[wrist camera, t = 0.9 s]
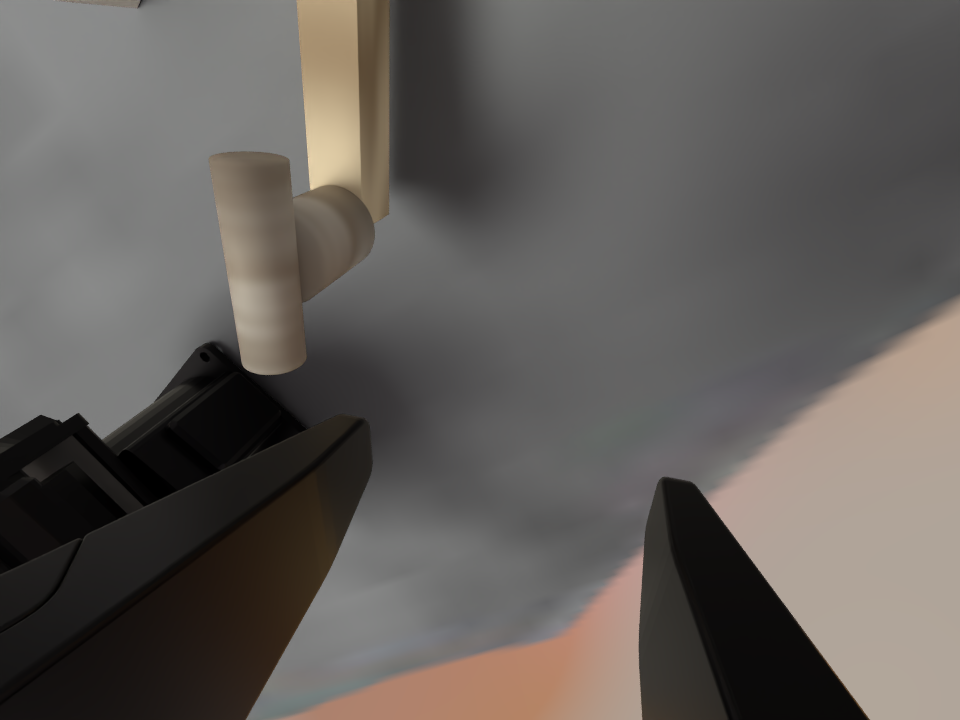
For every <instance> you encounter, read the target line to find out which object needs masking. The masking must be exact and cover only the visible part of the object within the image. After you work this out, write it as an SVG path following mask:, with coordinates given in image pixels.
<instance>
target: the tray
mask: <svg viewBox="0 0 960 720" xmlns="http://www.w3.org/2000/svg"><path fill="white" fill-rule="evenodd" d="M54 1H63V2H74V3H85V4H95V5H106V6H117V7H128V8H137V7H138V5H139V3H140V0H54Z"/></svg>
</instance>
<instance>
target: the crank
mask: <svg viewBox="0 0 960 720" xmlns="http://www.w3.org/2000/svg"><path fill="white" fill-rule="evenodd" d="M297 10H298V24H299V38H300V52H301V66H302V80H303V94H304V108H305V122H306V136H307V150H308V164H309V178H310V191H308V192H306V193H303V194H301V195H299V196H296V197H294V198H293V197H292V186H291V174H290V163H289V159H288V158H286V157H284V156H281V155H277V154H272V153H264V152H227V153H220V154H216V155H212V156H210V157H209V165H210V171H211V177H212V183H213V189H214V195H215V201H216V208H217V214H218V220H219V226H220V232H221V238H222V244H223V251H224V257H225V263H226V269H227V275H228V281H229V287H230V294H231V300H232V306H233V312H234V318H235V324H236V330H237V337H238V343H239V349H240V355H241V361H242V365H243V367H244V368H245V369H247V370H248V371H250V372H253V373H256V374H261V375H277V374H283V373H287V372H290V371H293V370H295V369H297V368H299V367H300V366H301V365H303V363H304V362H305V361H306V358H307V354H306V343H305V332H304V321H303V309H302V303H303V302H306V301H308V300H310V299H311V298H312V297H314V296H315V295H316V294H318V293H319V292H320V291H322V290H323V289H325V288H326V287H327V286H329V285H330V284H331V283H333V282H334V281H335V280H337V279H338V278H339V277H341V276H342V275H343V274H345V273H346V272H347V271H349V270H350V269H351V268H353V267H354V266H355V265H357V264H358V263H360V262H361V261H362V260H364V259H365V258H366V257H367V256H368V254H369V253H370V251H371V249H372V247H373V244H374V239H375V229H374V223H376V222H377V221H379V220H381V219H382V218H384V217H385V216H387V215H388V214H389V27H390V0H297Z"/></svg>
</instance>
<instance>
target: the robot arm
mask: <svg viewBox="0 0 960 720" xmlns="http://www.w3.org/2000/svg"><path fill="white" fill-rule="evenodd" d="M207 354H208V355H209V356H208V355H207ZM88 424H89V423H88V422H87V421H86V420H85V419H84V418H83V417H82V416H81V415H80V414H79V413H77V414H76V415H74V416H73V417H71V418H69V419H68V420H66V421H65V422H63V423H62V422H61V421H60V420H54V419H51V418H48V417H46V416H43V415H39V416H38V417H36V418H34V419H33V420H31V421H29V422H28V423H26V424H24V425H23V426H21V427H19V428H18V429H16V430H15V431H13V432H11V433H9V434H8V435H6V436H4V437H3V438H1V439H0V720H246V718H247V717H248V715H249V713H250V711H251V709H252V708H253V706H254V704H255V702H256V701H257V699H258V697H259V695H260V693H261V692H262V690H263V688H264V686H265V685H266V683H267V681H268V679H269V677H270V676H271V674H272V672H273V670H274V669H275V667H276V665H277V663H278V661H279V660H280V658H281V656H282V654H283V653H284V651H285V649H286V647H287V645H288V644H289V642H290V640H291V638H292V637H293V635H294V633H295V631H296V629H297V628H298V626H299V624H300V622H301V621H302V619H303V617H304V615H305V613H306V612H307V610H308V608H309V606H310V605H311V603H312V601H313V599H314V597H315V596H316V594H317V592H318V590H319V589H320V587H321V585H322V583H323V581H324V579H325V578H326V576H327V574H328V572H329V570H330V568H331V566H332V564H333V562H334V559H335V557H336V555H337V553H338V550H339V548H340V546H341V543H342V541H343V539H344V536H345V534H346V532H347V529H348V527H349V525H350V522H351V520H352V518H353V515H354V513H355V511H356V508H357V506H358V504H359V501H360V499H361V497H362V494H363V492H364V490H365V487H366V485H367V483H368V480H369V478H370V475H371V471H372V464H373V460H372V447H371V435H370V426H369V423H368V421H367V420H366V419H365V418H362V417H357V416H352V415H347V414H339V415H337V416H334V417H332V418H330V419H328V420H326V421H324V422H322V423H320V424H318V425H316V426H313V427H311V428H309V429H307V430H306V429H305V428H304V427H303V426H302V425H301V424H300V423H299V422H297V421H296V420H295V419H294V418H293V417H292V416H291V415H290V414H289V413H288V412H286V411H285V410H284V409H283V408H282V407H281V406H280V405H279V404H278V403H277V402H276V401H274V400H273V399H272V398H271V397H270V396H269V395H268V394H267V393H266V392H265V391H263V390H262V389H261V388H260V387H259V386H258V385H257V384H256V383H255V382H254V381H252V380H251V379H250V378H249V377H248V376H247V375H246V374H245V373H244V372H243V371H242V370H240V369H239V368H238V367H237V366H236V365H235V364H234V363H233V362H232V361H231V360H229V359H228V358H227V357H226V356H225V355H224V354H223V353H222V352H221V351H220V350H218V349H217V348H216V347H215V346H214V345H212V344H209V343H205V344H203V345H202V346H200V347H199V348H197V349H196V350H195V351H194V353H193V354H192V355H191V356H190V358H189V359H188V360H187V361H186V363H185V364H184V365H183V366H182V368H181V369H180V370H179V371H178V373H177V374H176V375H175V376H174V378H173V379H172V380H171V382H170V383H169V384H168V385H167V387H166V388H165V389H164V390H163V392H162V393H161V394H160V395H159V397H158V398H157V399H156V400H155V402H154V403H153V404H151V405H150V406H148V407H147V408H146V409H144V410H143V411H142V412H140V413H139V414H137V415H136V416H135V417H133V418H132V419H130V420H129V421H128V422H126V423H125V424H123V425H122V426H121V427H119V428H118V429H116V430H115V431H114V432H112V433H111V434H109V435H108V436H107V437H105V438H104V439H102V440H101V439H100V438H99V437H98V436H97V435H96V434H95V433H94V432H93V431H92V430H91V429H90V428H89V427H88V426H87V425H88ZM639 669H640V687H641V704H642V720H870V719H869V718H868V717H867V715H866V714H865V713H864V711H863V710H862V708H861V707H860V706H859V704H858V703H857V702H856V700H855V699H854V698H853V696H852V695H851V694H850V693H849V691H848V690H847V688H846V687H845V686H844V684H843V683H842V682H841V680H840V679H839V678H838V676H837V675H836V674H835V672H834V671H833V669H832V668H831V667H830V665H829V664H828V663H827V661H826V660H825V659H824V658H823V656H822V655H821V653H820V652H819V651H818V649H817V648H816V647H815V645H814V644H813V643H812V641H811V640H810V639H809V637H808V636H807V634H806V633H805V632H804V631H803V629H802V628H801V626H800V625H799V624H798V622H797V621H796V620H795V618H794V617H793V616H792V614H791V613H790V612H789V610H788V609H787V607H786V606H785V605H784V603H783V602H782V601H781V599H780V598H779V597H778V595H777V594H776V593H775V591H774V590H773V589H772V587H771V586H770V585H769V583H768V582H767V581H766V579H765V578H764V577H763V575H762V574H761V572H760V571H759V570H758V568H757V567H756V566H755V564H754V563H753V562H752V560H751V559H750V558H749V557H748V555H747V554H746V552H745V551H744V550H743V548H742V547H741V546H740V544H739V543H738V542H737V540H736V539H735V538H734V536H733V535H732V534H731V532H730V531H729V529H728V528H727V527H726V525H725V524H724V523H723V521H722V520H721V519H720V517H719V516H718V515H717V513H716V512H715V511H714V509H713V508H712V507H711V505H710V504H709V502H708V501H707V500H706V498H705V497H704V496H703V494H702V493H701V492H700V490H699V489H698V488H697V486H696V485H695V484H693V483H692V482H690V481H685V480H680V479H675V478H670V477H662V478H661V479H660V480H659V482H658V484H657V488H656V491H655V495H654V498H653V502H652V506H651V509H650V513H649V516H648V520H647V525H646V531H645V542H644V558H643V576H642V592H641V608H640V624H639Z"/></svg>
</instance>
